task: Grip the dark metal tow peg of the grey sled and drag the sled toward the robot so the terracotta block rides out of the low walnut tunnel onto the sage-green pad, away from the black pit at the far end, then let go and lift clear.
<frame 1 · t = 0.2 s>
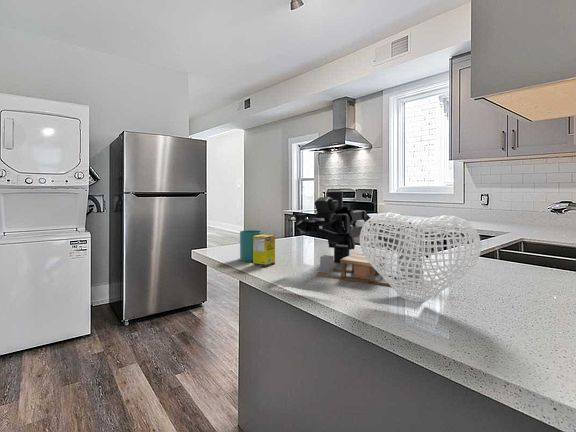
hand: (309, 226, 106), 16 cm above the countertop, tool horizontal, fingers open, 9 cm apart
block: (362, 277, 104), point 1 cm above the countertop, touching sled
heart: (413, 304, 85), on the countertop
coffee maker: (413, 278, 109), on the countertop
cup: (254, 259, 137), on the countertop
supplement box: (264, 265, 128), on the countertop
sled: (349, 268, 107), point 3 cm above the countertop, slide at 0.0 cm, touching block
tunnel channel: (362, 281, 105), on the countertop
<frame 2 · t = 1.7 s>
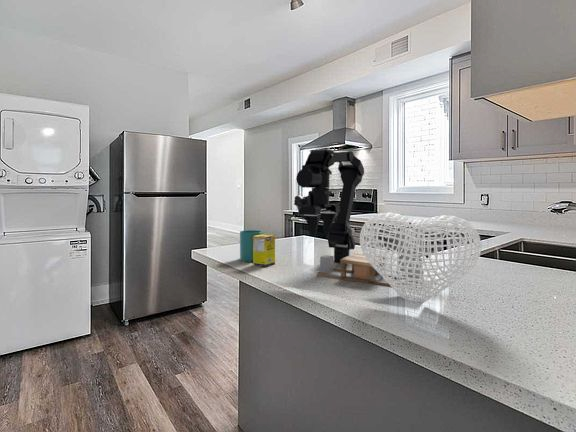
hand: (319, 235, 114), 13 cm above the countertop, tool pointing down, fingers open, 9 cm apart
nothing on the countertop moved.
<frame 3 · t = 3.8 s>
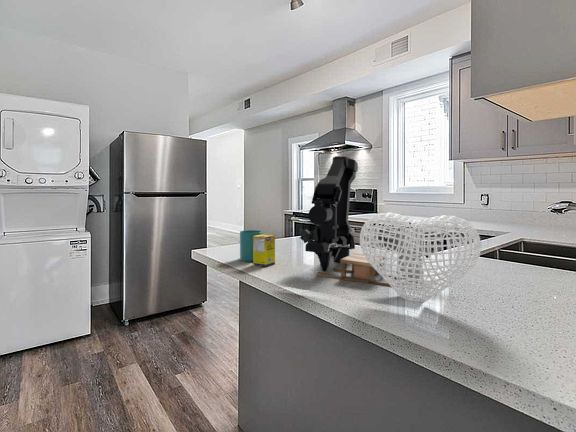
hand: (326, 270, 111), 2 cm above the countertop, tool pointing down, fingers closed on sled, 3 cm apart
sled: (349, 268, 107), point 3 cm above the countertop, slide at 0.0 cm, touching block, gripper
everything else where it was.
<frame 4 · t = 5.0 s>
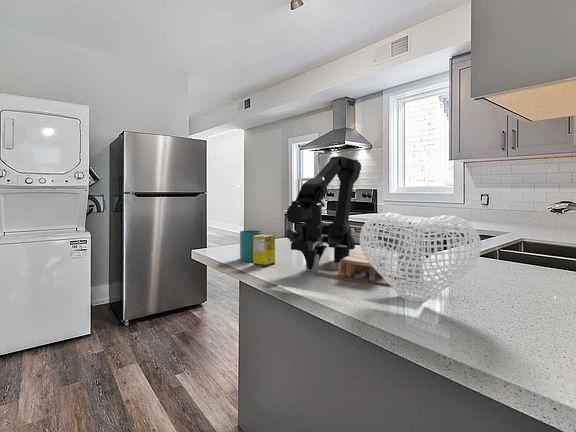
hand: (312, 268, 113), 2 cm above the countertop, tool pointing down, fingers closed on sled, 3 cm apart
block: (346, 275, 107), point 1 cm above the countertop, touching sled
sled: (334, 266, 109), point 3 cm above the countertop, slide at 5.2 cm, touching block, gripper
everything else where it was.
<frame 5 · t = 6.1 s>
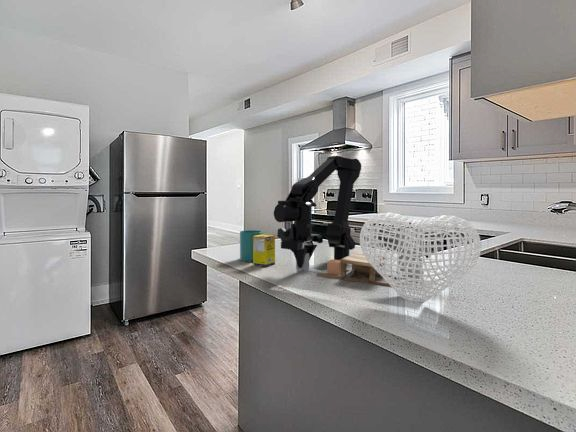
hand: (302, 266, 115), 2 cm above the countertop, tool pointing down, fingers closed on sled, 3 cm apart
block: (335, 273, 109), point 1 cm above the countertop, touching sled
sled: (323, 265, 111), point 3 cm above the countertop, slide at 8.9 cm, touching block, gripper
everything else where it was.
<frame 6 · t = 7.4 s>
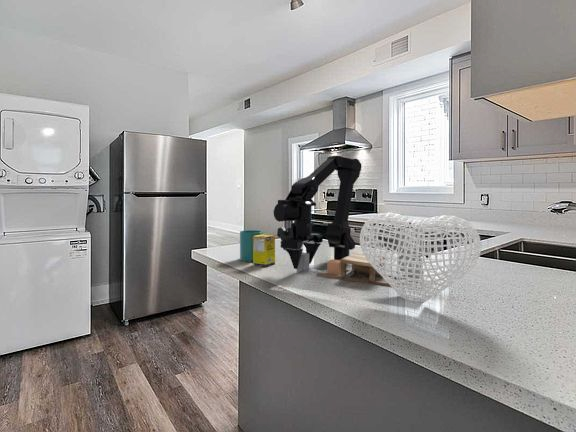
hand: (302, 266, 115), 2 cm above the countertop, tool pointing down, fingers open, 9 cm apart
sled: (323, 265, 111), point 3 cm above the countertop, slide at 8.9 cm, touching block
everything else where it was.
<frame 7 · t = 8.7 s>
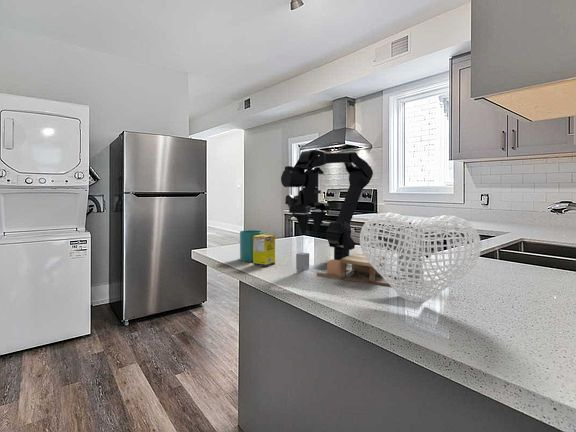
hand: (309, 232, 119), 13 cm above the countertop, tool pointing down, fingers open, 9 cm apart
nothing on the countertop moved.
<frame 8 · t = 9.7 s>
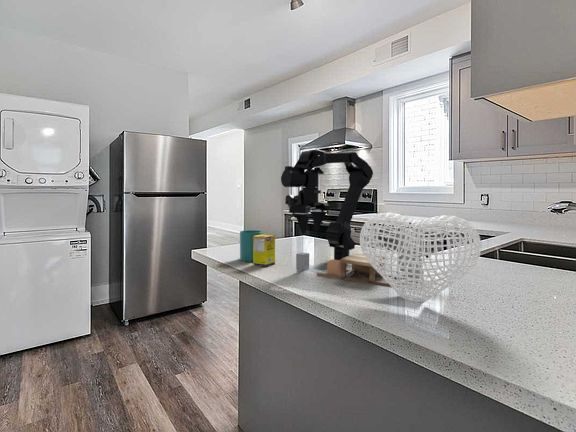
hand: (309, 232, 119), 13 cm above the countertop, tool pointing down, fingers open, 9 cm apart
nothing on the countertop moved.
at the end: sled slide at 8.9 cm; block inside the target area (5.6 cm from its centre), point 1.3 cm above the countertop; block tilted 0° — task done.
